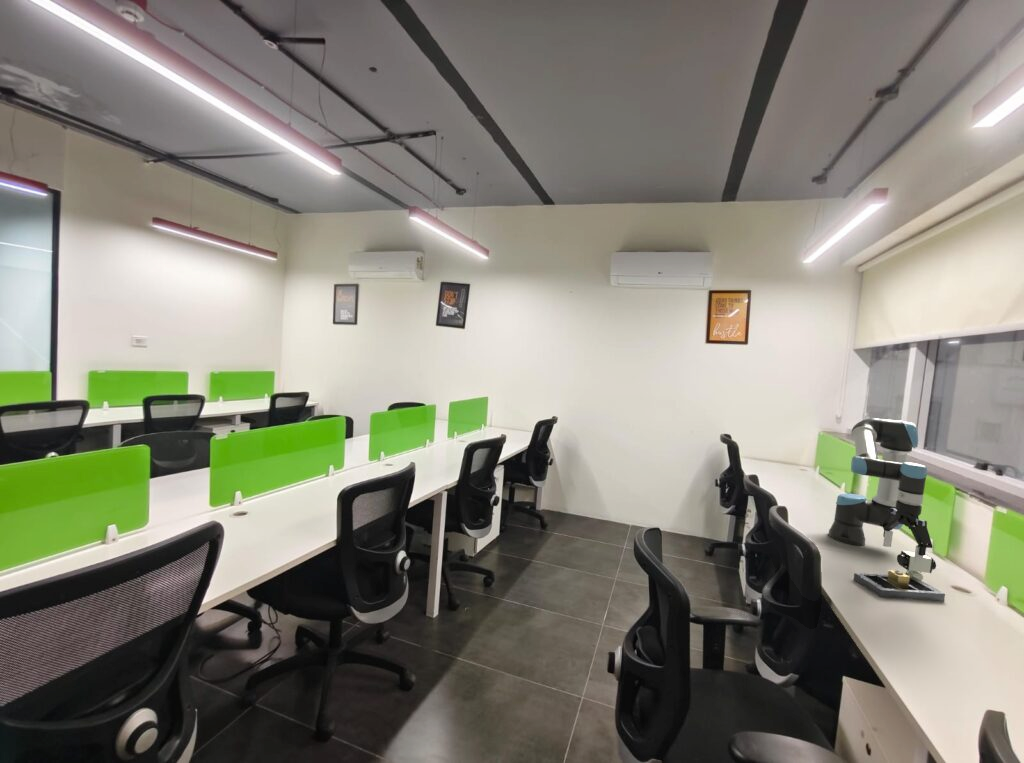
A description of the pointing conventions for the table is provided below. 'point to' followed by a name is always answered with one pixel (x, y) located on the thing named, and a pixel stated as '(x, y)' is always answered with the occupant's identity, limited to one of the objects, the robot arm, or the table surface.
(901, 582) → the tan rectangular block
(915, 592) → the grey slotted tray
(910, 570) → the white security camera
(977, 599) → the table surface
